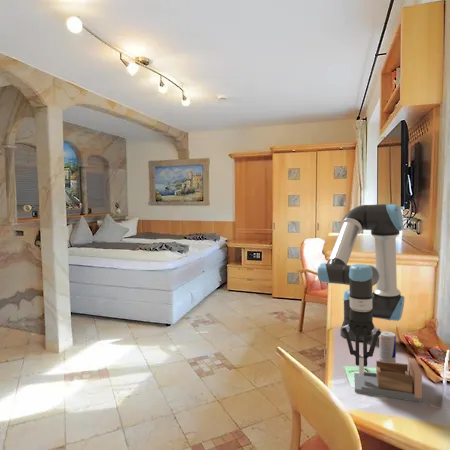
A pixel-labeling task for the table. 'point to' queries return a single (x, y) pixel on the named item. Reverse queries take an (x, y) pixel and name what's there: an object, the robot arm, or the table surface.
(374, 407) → the table surface
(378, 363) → the open wooden box
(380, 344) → the beverage can
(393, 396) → the board
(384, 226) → the robot arm
